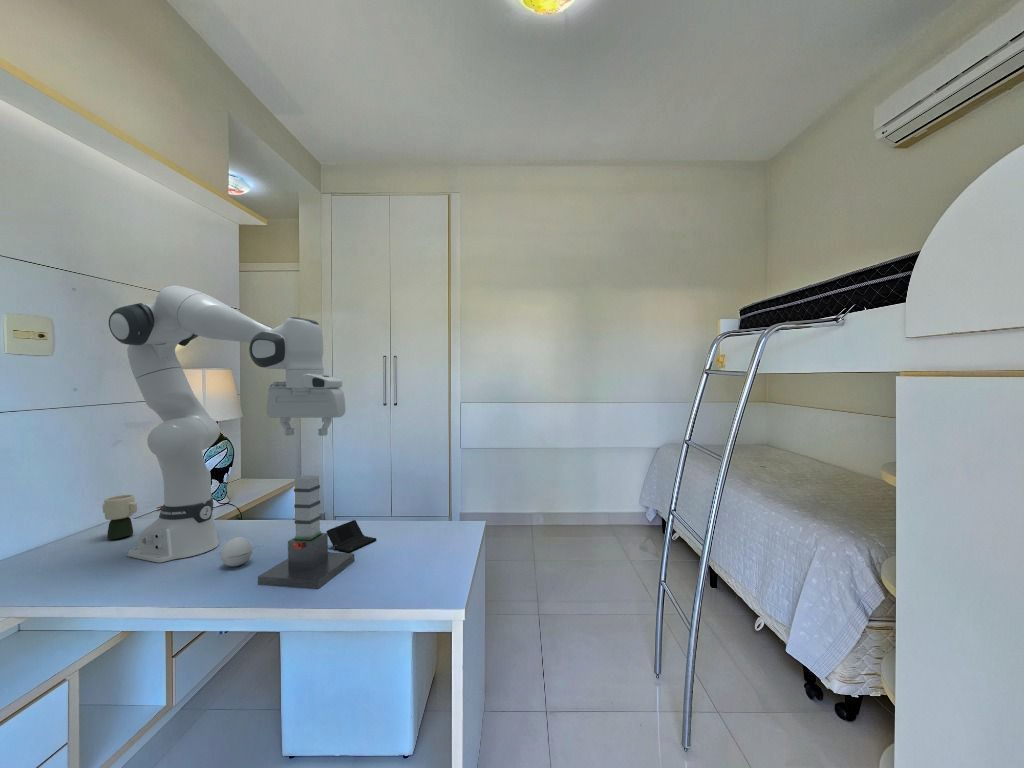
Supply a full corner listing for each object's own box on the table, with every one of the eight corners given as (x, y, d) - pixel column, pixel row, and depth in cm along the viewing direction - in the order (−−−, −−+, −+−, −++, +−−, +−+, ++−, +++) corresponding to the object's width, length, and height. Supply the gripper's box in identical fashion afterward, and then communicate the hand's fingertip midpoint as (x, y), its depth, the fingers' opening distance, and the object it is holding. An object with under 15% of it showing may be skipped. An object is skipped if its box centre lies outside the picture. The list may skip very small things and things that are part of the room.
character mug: (146, 533, 142) (145, 494, 142) (126, 541, 135) (125, 500, 135) (114, 533, 142) (113, 494, 142) (92, 541, 135) (91, 500, 135)
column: (295, 542, 109) (293, 479, 109) (306, 536, 113) (304, 475, 113) (310, 543, 108) (309, 479, 108) (320, 537, 112) (319, 475, 112)
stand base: (257, 584, 104) (256, 547, 104) (301, 557, 120) (300, 525, 120) (318, 589, 101) (317, 550, 101) (354, 560, 117) (353, 527, 117)
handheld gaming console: (355, 548, 122) (339, 518, 125) (337, 563, 123) (322, 532, 126) (379, 540, 133) (364, 512, 136) (363, 553, 134) (348, 525, 137)
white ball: (217, 573, 111) (217, 545, 111) (223, 562, 117) (222, 535, 117) (262, 566, 115) (262, 538, 115) (265, 556, 122) (264, 529, 122)
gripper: (259, 381, 109) (260, 436, 109) (334, 380, 106) (335, 437, 106) (277, 381, 115) (278, 433, 115) (348, 380, 112) (349, 434, 112)
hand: (306, 435), depth 111 cm, fingers open, 8 cm apart
